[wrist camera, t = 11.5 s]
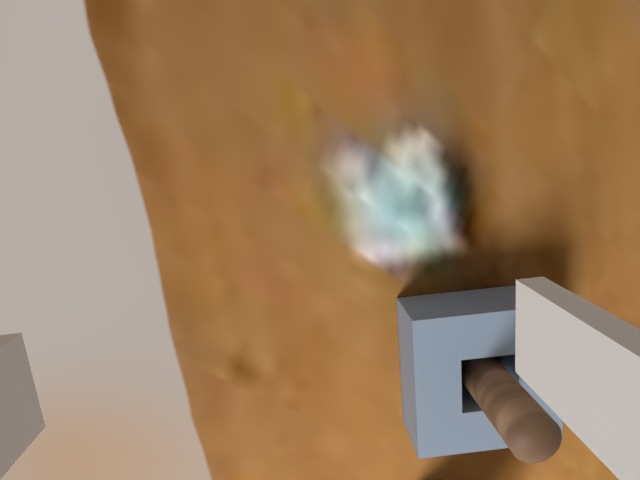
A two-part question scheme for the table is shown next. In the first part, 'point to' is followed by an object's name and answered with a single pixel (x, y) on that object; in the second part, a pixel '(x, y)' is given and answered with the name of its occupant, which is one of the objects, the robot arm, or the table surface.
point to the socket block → (454, 366)
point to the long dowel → (511, 410)
